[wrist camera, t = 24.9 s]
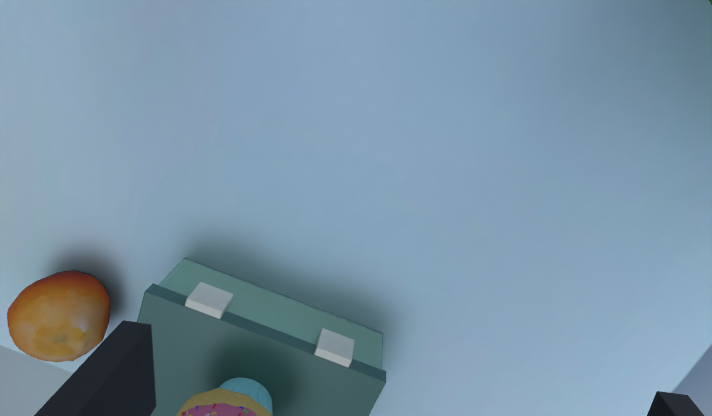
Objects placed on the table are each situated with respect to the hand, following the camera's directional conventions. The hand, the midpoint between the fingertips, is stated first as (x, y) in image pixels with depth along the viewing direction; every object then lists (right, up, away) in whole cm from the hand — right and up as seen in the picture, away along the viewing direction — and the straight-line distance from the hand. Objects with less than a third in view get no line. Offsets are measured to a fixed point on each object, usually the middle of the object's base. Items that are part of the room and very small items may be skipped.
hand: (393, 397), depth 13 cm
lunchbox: (-10, -9, +34) cm, 37 cm away
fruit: (-28, -4, +34) cm, 44 cm away
